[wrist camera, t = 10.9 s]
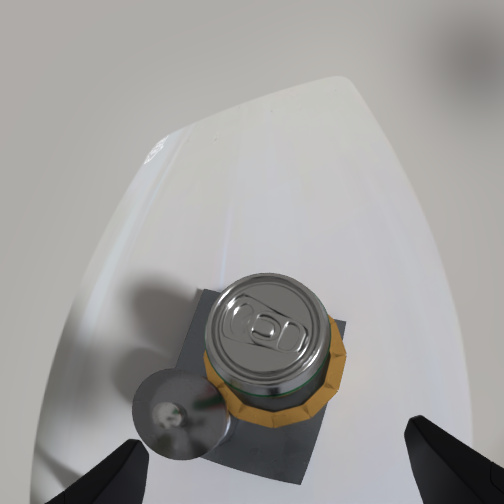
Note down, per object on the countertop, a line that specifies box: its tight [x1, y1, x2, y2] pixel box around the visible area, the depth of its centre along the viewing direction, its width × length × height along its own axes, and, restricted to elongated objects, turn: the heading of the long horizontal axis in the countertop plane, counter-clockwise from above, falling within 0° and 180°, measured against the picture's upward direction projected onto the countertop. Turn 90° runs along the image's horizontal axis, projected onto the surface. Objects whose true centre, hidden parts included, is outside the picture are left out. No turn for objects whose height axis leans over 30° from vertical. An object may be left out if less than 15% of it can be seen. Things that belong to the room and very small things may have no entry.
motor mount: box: [132, 289, 346, 485], centre depth 17 cm, size 14×12×8 cm
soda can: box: [204, 273, 331, 398], centre depth 15 cm, size 5×5×12 cm
